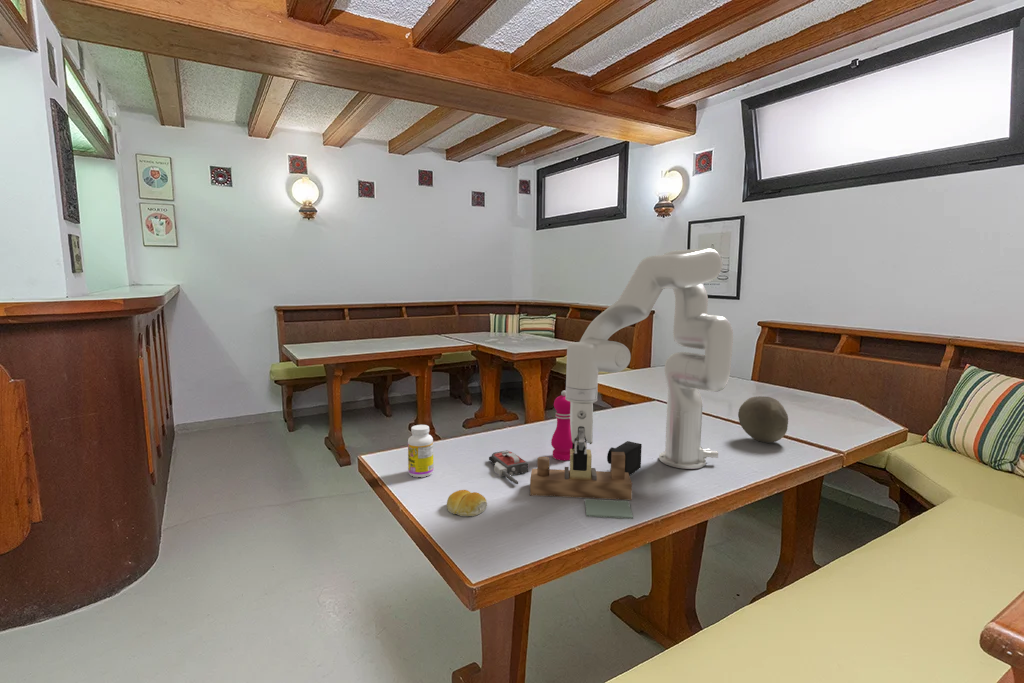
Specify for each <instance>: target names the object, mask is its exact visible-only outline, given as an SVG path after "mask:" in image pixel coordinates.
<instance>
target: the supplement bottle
mask: <svg viewBox="0 0 1024 683" xmlns="http://www.w3.org/2000/svg"><path fill="white" fill-rule="evenodd" d="M410 429H411V430H410V432H411V434H412V435H411V436H409V437H408V440H407V463H408V464H407V465H408V467H407V468H408V474H409V476H411V477H412V476H413V478H418V477H421V478H426V476H427V477H429V476H431V475H433V473H434V438H433V436H432V435H431V434H429V433H430V426H429V425H427V424H416V425H412V426H411V428H410Z"/></svg>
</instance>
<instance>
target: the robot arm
mask: <svg viewBox="0 0 1024 683" xmlns="http://www.w3.org/2000/svg"><path fill="white" fill-rule="evenodd" d="M722 267H723V261H722V256H721V255H720V254H719V252H718V251H717V250H715V249H713V248H696V249H695V248H693V249H679V250H678V249H677V250H670V251H668V252H665V253H664V254H657V255H656V254H655V255H649V256H647V257H645V258H643V259H642V260H641V261H640V262H639V264H638V265H637V266H636V268H635V270H634V272H632V273H633V274H632V275H631V277H630V279H629V281H628V283H627V284H626V286H625V288H624V290H623V291H622V292H621V295H620V296H619V298H618V299H617V301H615V302H614V303H612V304H610V306H608V307H607V308H606V309H605V310H604V311H602V312H600V314H598V315H597V316H596V317H595V318H594V319H593V320H592V321H591V322H590V323H589V325H588V326H587V328H586V329H585V331H584V333H583V335H582V336H581V338H580V339H579V341H576V342H575V341H573V342H570V343H569V344H568V345H567V348H566V367H565V368H566V373H565V374H566V375H565V377H566V379H565V391H566V400H567V401H570V428H571V438H572V449H575V453H573V470H576V471H586V470H587V449H588V448H587V447H588V446H587V444H589V445H592V444H593V431H594V430H593V429H594V428H593V427H594V424H593V423H594V405H593V404H594V403H596V402H597V401H598V389H599V388H598V385H599V384H598V383H599V373H600V372H601V373H602V372H604V373H619V372H622V371H624V370H625V369H626V368H628V366H629V365H630V362H631V357H632V356H631V352H630V349H629V348H628V346H626V345H625V344H623V343H621V342H618V341H615V340H614V341H613V340H609V339H610V337H612V336H613V335H614V334H615V333H617V332H619V330H621V329H623V328H626V327H629V326H632V325H634V324H637V323H639V322H641V321H643V320H646V319H647V318H648V317H649V315H650V313H651V311H652V309H653V308H654V306H655V304H656V302H657V300H658V298H659V297H660V295H661V293H662V292H663V290H665V289H672V291H673V293H674V300H675V301H674V302H675V303H674V304H675V305H674V319H673V330H672V331H673V332H672V333H673V335H672V336H673V340H674V342H675V344H677V345H678V346H681V347H683V348H687V349H696V350H702V351H703V350H704V354H700V353H695V352H687V351H679V352H674V353H671V355H669V356H668V358H667V359H666V360H665V364H664V376H665V383H666V394H667V396H666V398H667V400H666V416H665V417H666V420H665V421H666V422H665V424H666V425H665V441H664V442H665V447H664V449H665V450H664V451H662V452H660V454H659V455H658V456H659V458H658V459H659V461H660V462H661V463H662V464H664V465H667V466H669V467H672V468H677V469H684V470H685V469H687V470H693V469H695V470H697V469H701V468H703V467H705V465H706V463H707V462H706V459H707V458H712V459H714V458H715V459H718V458H719V452H718V451H717V450H711V448H702V446H701V441H702V427H703V426H702V424H703V422H702V421H703V406H704V404H703V398H702V395H701V392H700V390H701V391H705V392H711V393H712V392H713V393H717V392H718V393H719V392H720V391H722V390H724V389H725V388H726V386H727V385H728V382H729V379H730V376H731V375H730V374H731V365H732V355H733V354H732V353H733V343H734V331H733V327H732V324H731V321H729V320H728V319H727V318H726V317H725V316H722V315H721V316H720V315H716V314H708V299H709V298H708V292H707V290H706V287H705V286H704V284H706V283H710V282H712V281H714V280H715V279H717V277H719V275H720V273H721V271H722V269H723V268H722Z"/></svg>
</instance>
